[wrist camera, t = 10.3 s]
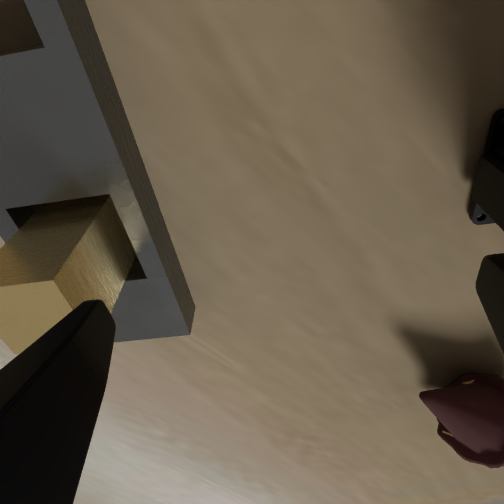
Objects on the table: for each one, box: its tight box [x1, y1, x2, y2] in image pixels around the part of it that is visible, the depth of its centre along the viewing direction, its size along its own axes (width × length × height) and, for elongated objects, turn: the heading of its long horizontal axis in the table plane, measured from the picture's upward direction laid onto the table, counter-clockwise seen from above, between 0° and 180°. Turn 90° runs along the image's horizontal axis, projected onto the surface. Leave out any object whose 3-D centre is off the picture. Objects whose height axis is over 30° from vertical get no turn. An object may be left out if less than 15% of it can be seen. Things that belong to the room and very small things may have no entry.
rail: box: [0, 0, 195, 342], centre depth 17 cm, size 8×28×2 cm, turn 9°
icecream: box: [419, 373, 504, 468], centre depth 29 cm, size 7×7×15 cm
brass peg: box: [0, 194, 136, 354], centre depth 19 cm, size 4×4×8 cm
